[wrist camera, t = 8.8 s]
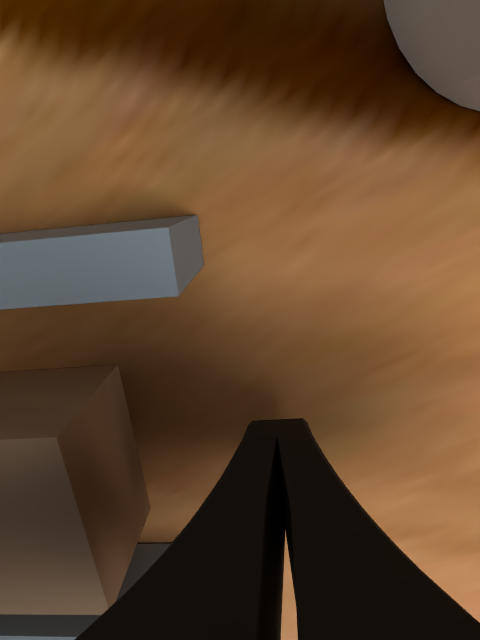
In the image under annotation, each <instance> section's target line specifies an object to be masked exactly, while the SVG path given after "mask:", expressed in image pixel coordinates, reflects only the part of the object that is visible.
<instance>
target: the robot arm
mask: <svg viewBox="0 0 480 640" xmlns="http://www.w3.org/2000/svg"><path fill="white" fill-rule="evenodd" d="M285 530H286V537H287V544H288V551H289V558H290V565H291V572H292V579H293V586H294V593H295V600H296V609H297V628H298V640H480V623H479V622H478V621H477V620H476V619H475V618H473V617H472V616H471V615H470V614H469V613H468V612H467V611H466V610H465V609H463V608H462V607H461V606H460V605H459V604H458V603H457V602H456V601H455V600H453V599H452V598H451V597H450V596H449V595H448V594H447V593H446V592H445V591H443V590H442V589H441V588H440V587H439V586H438V585H437V584H436V583H435V582H434V581H432V580H431V579H430V578H429V577H428V576H427V575H426V574H425V573H424V572H422V571H421V570H420V569H419V568H418V567H417V566H416V565H415V564H414V563H413V562H412V561H411V560H410V559H409V558H408V557H407V556H406V555H405V554H404V553H403V552H402V551H401V550H400V549H399V548H398V547H397V546H396V544H395V543H394V542H393V541H392V540H391V539H390V538H389V537H388V536H387V535H386V534H385V533H384V532H383V530H382V529H381V528H380V527H379V526H378V525H377V524H376V523H375V522H374V520H373V519H372V518H371V517H370V516H369V515H368V513H367V512H366V511H365V510H364V509H363V508H362V506H361V505H360V504H359V502H358V501H357V500H356V499H355V497H354V496H353V495H352V494H351V492H350V491H349V490H348V489H347V487H346V486H345V485H344V483H343V482H342V480H341V479H340V478H339V476H338V475H337V473H336V472H335V470H334V469H333V468H332V466H331V465H330V463H329V462H328V460H327V459H326V457H325V456H324V454H323V452H322V451H321V449H320V447H319V446H318V444H317V442H316V440H315V439H314V437H313V435H312V433H311V431H310V428H309V426H308V423H307V422H306V421H305V420H304V419H303V418H299V419H279V420H259V421H252V422H251V423H250V424H249V425H248V427H247V430H246V432H245V434H244V436H243V439H242V441H241V443H240V445H239V446H238V448H237V450H236V452H235V454H234V456H233V457H232V459H231V461H230V463H229V464H228V466H227V468H226V469H225V471H224V473H223V474H222V476H221V478H220V479H219V481H218V482H217V484H216V485H215V487H214V488H213V490H212V491H211V492H210V494H209V495H208V497H207V498H206V500H205V501H204V503H203V504H202V506H201V507H200V508H199V510H198V511H197V512H196V514H195V515H194V516H193V518H192V519H191V520H190V522H189V523H188V524H187V525H186V527H185V528H184V529H183V530H182V532H181V533H180V534H179V535H178V536H177V538H176V539H175V540H174V541H173V542H172V544H171V545H170V546H169V547H168V548H167V549H166V550H165V551H164V553H163V554H162V555H161V556H160V557H159V558H158V559H157V560H156V561H155V562H154V563H153V565H152V566H151V567H150V568H149V569H148V570H147V571H146V572H145V573H144V574H143V575H142V576H141V577H140V578H139V579H138V580H137V582H136V583H135V584H134V585H133V586H132V587H131V588H130V589H129V590H128V591H127V592H126V593H125V594H123V595H122V596H121V597H120V598H119V599H118V600H117V601H116V602H115V603H114V604H113V605H112V606H110V607H109V608H108V609H107V610H106V611H105V612H104V613H103V614H102V615H101V616H100V617H99V618H98V619H96V620H95V621H94V622H93V623H92V624H91V625H90V626H89V627H88V628H87V629H86V630H85V631H83V632H82V633H81V634H80V635H79V636H78V637H77V638H76V639H74V640H281V614H282V592H283V570H284V548H285Z"/></svg>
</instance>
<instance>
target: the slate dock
mask: <svg viewBox="0 0 480 640" xmlns="http://www.w3.org/2000/svg"><path fill="white" fill-rule="evenodd" d="M203 266H204V261H203V253H202V245H201V237H200V229H199V222H198V215H190V216H180V217H169V218H159V219H149V220H138V221H128V222H117V223H107V224H96V225H86V226H76V227H65V228H55V229H44V230H34V231H24V232H13V233H3V234H0V310H1V309H15V308H28V307H42V306H55V305H68V304H82V303H95V302H108V301H122V300H135V299H148V298H162V297H175V296H179V295H180V294H181V293H182V292H183V290H184V289H185V288H186V287H187V285H188V284H189V283H190V282H191V281H192V279H193V278H194V277H195V276H196V274H197V273H198V272H199V271H200V270H201V268H202V267H203ZM170 545H171V544H137V545H136V548H135V551H134V553H133V556H132V559H131V561H130V564H129V567H128V569H127V572H126V575H125V577H124V580H123V583H122V586H121V588H120V591H119V594H118V596H117V599H116V601H117V600H118V599H119V598H120V597H121V596H122V595H123V594H125V593H126V592H127V591H128V590H129V589H130V588H131V587H132V586H133V585H134V584H135V583H136V582H137V580H138V579H139V578H140V577H141V576H142V575H143V574H144V573H145V572H146V571H147V570H148V569H149V568H150V567H151V566H152V565H153V563H154V562H155V561H156V560H157V559H158V558H159V557H160V556H161V555H162V554H163V553H164V551H165V550H166V549H167V548H168V547H169V546H170ZM100 616H101V615H30V614H0V640H74V639H76V638H77V637H78V636H79V635H80V634H81V633H82V632H83V631H85V630H86V629H87V628H88V627H89V626H90V625H91V624H92V623H93V622H94V621H95V620H96V619H98V618H99V617H100Z"/></svg>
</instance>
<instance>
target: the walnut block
mask: <svg viewBox="0 0 480 640" xmlns="http://www.w3.org/2000/svg"><path fill="white" fill-rule="evenodd" d="M149 510H150V503H149V499H148V494H147V490H146V485H145V481H144V477H143V472H142V468H141V463H140V459H139V455H138V450H137V446H136V441H135V437H134V433H133V428H132V424H131V419H130V415H129V411H128V406H127V402H126V397H125V393H124V389H123V384H122V380H121V375H120V371H119V367H118V364H116V365H101V366H86V367H71V368H55V369H40V370H25V371H10V372H0V614H30V615H102V614H103V613H104V612H105V611H106V610H107V609H108V608H109V607H110V606H112V605H113V604H114V603H115V602H116V599H117V596H118V594H119V591H120V588H121V586H122V583H123V580H124V577H125V575H126V572H127V569H128V567H129V564H130V561H131V559H132V556H133V553H134V551H135V548H136V545H137V542H138V540H139V537H140V534H141V532H142V529H143V526H144V524H145V521H146V518H147V516H148V513H149Z"/></svg>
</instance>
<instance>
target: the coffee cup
mask: <svg viewBox="0 0 480 640" xmlns="http://www.w3.org/2000/svg"><path fill="white" fill-rule="evenodd" d="M384 5H385V10H386V15H387V20H388V22H389V25H390V27H391V30H392V32H393V35H394V37H395V39H396V42H397V44H398V47H399V49H400V50H401V52H402V53H403V55H404V56H405V58H406V59H407V61H408V62H409V64H410V65H411V67H412V68H413V70H414V71H415V73H416V74H417V75H418V76H420V77H421V78H422V79H423V80H424V81H425V82H426V83H427V84H428V85H429V86H430V87H431V88H432V89H433V90H434V91H436V92H437V93H438V94H440V95H442V96H444V97H445V98H447V99H449V100H451V101H453V102H454V103H456V104H458V105H460V106H462V107H466V108H469V109H473V110H477V111H480V0H384Z"/></svg>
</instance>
